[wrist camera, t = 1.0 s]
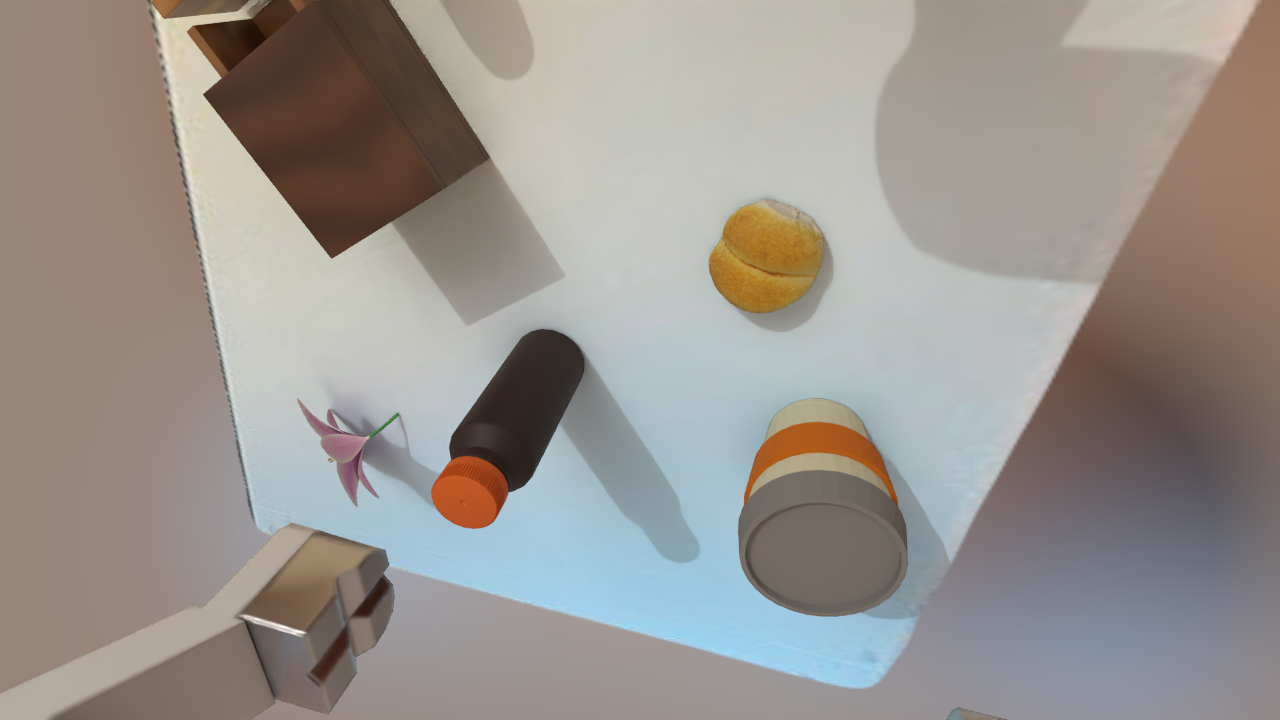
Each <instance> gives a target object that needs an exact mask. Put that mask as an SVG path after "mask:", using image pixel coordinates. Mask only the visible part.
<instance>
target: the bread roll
mask: <svg viewBox="0 0 1280 720" xmlns="http://www.w3.org/2000/svg"><path fill="white" fill-rule="evenodd" d="M823 254H824V238H823V234H822V232H821V231H820V229H819V228H818V226H817V225H816V224H815V222H814V220H813V219H812V218H810V217H809V216H807V215H806V214H804V213H802V212H800V211H798V210H797V209H795V208H793V207H791V206H787V205H785V204H782V203H779V202H777V201H773V200H771V199H763V200H760V201H758V202H756V203H753V204H749V205H746V206H744V207H742V208H740V209H739V210H737V211H736V212H735V213H734V214H733V215H732V216H731V217H730V218H729V219H728V221H727V223H726V225H725V227H724V230H723V236H722V239H721V241H720V242H719V244H718V245H717V246H716V247H715V249H714V250H713V252H712V253H711V255H710V259H709V270H710V274H711V277H712V280H713V282H714V284H715V286H716V288H717V290H718V291H719V292H720V293H721V294H722V295H723V296H724V297H725V298H726V299H727V300H728V301H729V302H730V303H731V304H733V305H734V306H736V307H738V308H740V309H742V310H744V311H748V312H753V313H768V312H772V311H776V310H779V309H781V308H784V307H786V306H788V305H790V304H791V303H793V302H795V301H796V300H798V299H799V298H801V297H802V296H803V295H804V294H805V293H806V292H807V291H808V290H809V288H810V287H811V285H812V284H813V282H814V280H815V278H816V275H817V273H818V271H819V269H820V266H821V264H822V260H823Z"/></svg>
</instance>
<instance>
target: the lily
mask: <svg viewBox="0 0 1280 720" xmlns="http://www.w3.org/2000/svg"><path fill="white" fill-rule="evenodd" d="M297 400H298V403H299V405H300V408H301V410H302V412H303V414H304V416H305V417H306V419H307V421H308V422H309V424H310V426H311V427H312V428H313V429H314V431H315V432H316V433H317V434H318V435H319V436H321V437H322V439H321V446H322V447H323V449H324V450H325V452H326V453H327V454H328V455H329V456H330V457H331V458H330V459H328V460H329V461H330V460H332V458H333V460H335V461H337V472H338V475H339V478H340V481H341V483H342V485H343V487H344V489H345V491H346V492H347V494H348V496H349V497H350V499H351V500H352V502H353V503H354V505H355V506H356V507H358V506H357V487H358V482H359V479H360V481H361V483H362V484H363V485H364V487H365V488H366V489H367V490H368V491H369V492H370V493H371V494H373V495H374V496H375V497H377V498H379V497H378V495H377V494H376V492H375V491H374V489H373V488H372V486H371V485H370V483H369V482H368V480H367V478H366V476H365V475H364V472H363V469H362V456H363V450H364V445H365V442H366V441H367V440H368V439H370V438H371V437H373V436H374V435H376V434H377V433H378V432H380V431H381V430H382V429H384V428H385V427H386V426H387V425H388V424H390V423H391V422H392V421H393V420H394V419H395V418H396V417H398V416H399V414H398V413H397V414H396V415H394V416H393V417H392V418H391V419H390V420H389V421H387V422H386V423H385V424H384V425H383V426H381V427H380V428H379V429H378V430H376V431H375V432H373V433H372V434H370V435H369V436H367V437H360V436H356V435H353V434H350V433H346V432H343V431H341V430H340V429H339V428H338V426H337V423H336V421H335V419H334V417H333V414H332V412H331V410H330V409H328V412H327V421H328V423H329V424H330V425H331V426H332V427H334V428H336V429H338V430H340V431H337V430H335V429H333V428H332V427H330V426H328V425H326V424H325V423H323V422H322V421H320V420H319V419H317V418H316V417H315V416H314V415H313V414H312V413H311V412H310V411H309V410H308V409H307V408H306V407H305V406H304V405H303V404H302V402H301V401H300V400H299V399H298V398H297ZM333 460H332V461H331V462H333Z"/></svg>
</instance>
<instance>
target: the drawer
mask: <svg viewBox="0 0 1280 720" xmlns="http://www.w3.org/2000/svg"><path fill="white" fill-rule="evenodd" d="M248 1H249V0H153V1H152V4H153V5H154V6H155V8H156V9H157V10H158V12H159V13H160V14H161V16H162V17H163V18H164V19H167V18H177V17H187V16H196V15H206V14H216V13H226V12H235V11H238V10H239V9H240V8H242V7H243V6H244V5H245V4H246V3H247V2H248ZM311 1H314V0H272V1H271V2H270V3H269V4H268V5H267V6H266V7H265V8H263V9H262V10H261V11H260V12H259V13H258V14H257V15H256V16H254V17H253V18H252V19H246V20H237V21H229V22H221V23H212V24H204V25H196V26H192V27H191V28H190V29H189V30H188V31H187V33H188V34H189V36H190V37H191V38H192V39H193V41H194V42H195V43H196V45H197V46H198V47H199V49H200V50H201V51H202V53H203V54H204V55H205V56H206V58H207V59H208V60H209V62H210V63H211V64H212V66H213V67H214V68H215V70H216V71H217V72H218V73H219V75H220V76H221V77H222V78H223V77H224V76H225V75H226V74H227V73H228V72H230V71H231V70H232V69H233V68H234V67H235V66H237V65H238V64H239V63H240V62H241V61H242V60H243V59H245V58H246V57H247V56H248V55H249V54H250V53H252V52H253V51H254V50H255V49H256V48H257V47H259V46H260V45H261V44H262V43H263V42H264V41H265V40H267V39H268V38H269V37H270V36H271V35H272V34H274V33H275V32H276V31H277V30H278V29H279V28H281V27H282V26H283V25H284V24H285V23H286V22H287V21H289V20H290V19H291V18H292V17H293V16H294V15H296V14H297V13H298V12H299V11H300V10H301V9H303V8H304V7H305V6H306V5H307V4H308V3H309V2H311Z"/></svg>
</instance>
